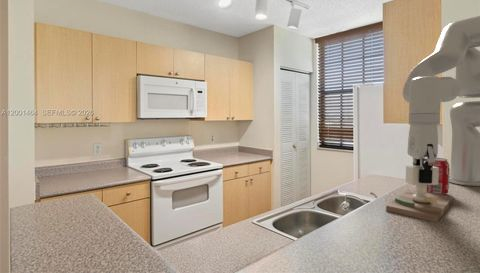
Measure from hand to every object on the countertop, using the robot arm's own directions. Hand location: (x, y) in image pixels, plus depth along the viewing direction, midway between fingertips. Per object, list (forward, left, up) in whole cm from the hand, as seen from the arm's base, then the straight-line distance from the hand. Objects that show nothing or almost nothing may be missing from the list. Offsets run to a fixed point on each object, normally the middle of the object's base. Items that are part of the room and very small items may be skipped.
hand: (421, 180), depth 79 cm
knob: (0, +2, -6) cm, 6 cm away
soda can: (-12, -13, -8) cm, 20 cm away
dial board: (0, 0, -8) cm, 8 cm away
